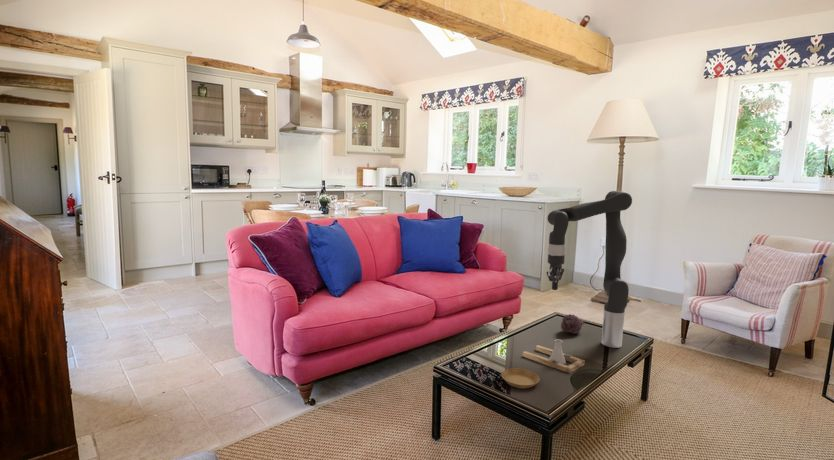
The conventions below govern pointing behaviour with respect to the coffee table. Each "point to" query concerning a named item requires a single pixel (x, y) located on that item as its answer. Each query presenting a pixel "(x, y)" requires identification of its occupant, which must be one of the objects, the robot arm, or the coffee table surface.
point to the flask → (558, 352)
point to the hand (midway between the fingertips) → (554, 289)
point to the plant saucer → (520, 377)
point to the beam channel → (569, 369)
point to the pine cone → (571, 324)
